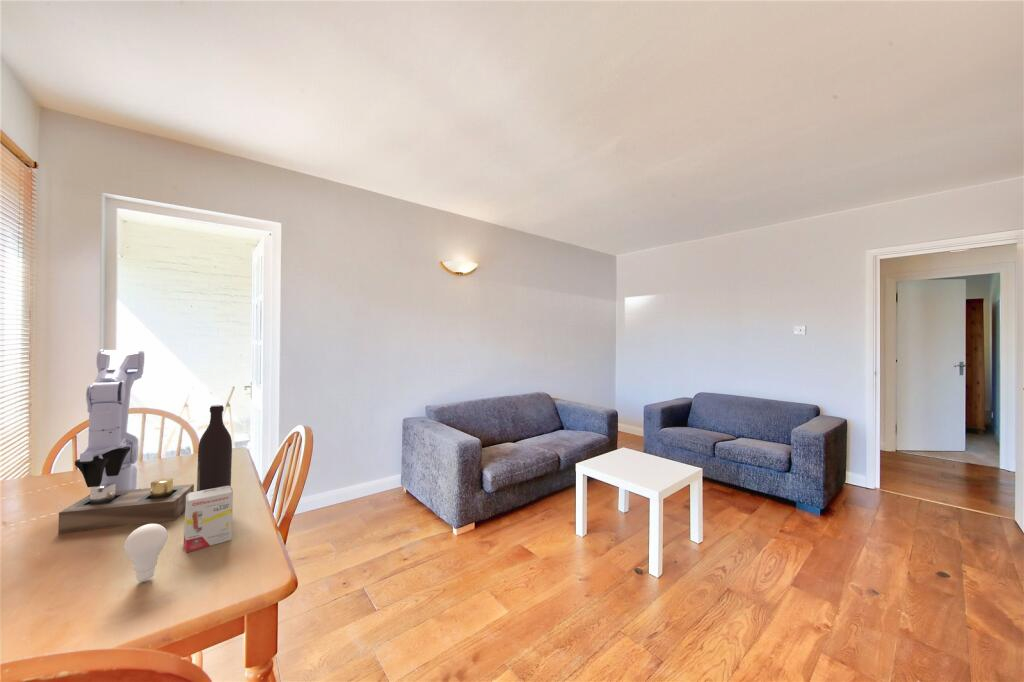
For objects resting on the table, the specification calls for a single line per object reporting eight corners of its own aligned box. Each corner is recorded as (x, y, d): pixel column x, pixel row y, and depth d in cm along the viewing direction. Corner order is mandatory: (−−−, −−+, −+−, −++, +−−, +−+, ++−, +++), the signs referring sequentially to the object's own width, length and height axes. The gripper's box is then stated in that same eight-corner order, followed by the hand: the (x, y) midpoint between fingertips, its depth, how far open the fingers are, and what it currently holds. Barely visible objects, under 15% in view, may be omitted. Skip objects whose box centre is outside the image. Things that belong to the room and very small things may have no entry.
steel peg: (96, 502, 99) (97, 484, 99) (118, 500, 100) (119, 482, 100) (85, 510, 95) (85, 490, 95) (108, 507, 96) (109, 488, 96)
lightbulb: (142, 571, 77) (144, 518, 77) (174, 571, 78) (176, 517, 77) (113, 591, 71) (115, 533, 71) (148, 590, 71) (150, 533, 71)
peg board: (91, 511, 101) (92, 492, 101) (193, 501, 109) (193, 484, 109) (58, 533, 90) (58, 512, 90) (173, 520, 98) (174, 501, 98)
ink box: (184, 553, 84) (186, 500, 84) (183, 544, 87) (185, 493, 87) (232, 540, 90) (233, 490, 90) (229, 532, 93) (230, 484, 93)
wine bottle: (218, 510, 104) (221, 402, 104) (236, 515, 102) (239, 404, 102) (189, 522, 97) (192, 406, 97) (207, 527, 95) (211, 409, 95)
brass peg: (155, 497, 103) (155, 479, 103) (175, 495, 105) (176, 477, 105) (146, 503, 99) (147, 485, 99) (167, 501, 101) (168, 483, 101)
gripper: (107, 434, 92) (106, 489, 92) (140, 421, 106) (139, 470, 106) (68, 436, 90) (66, 493, 90) (107, 422, 103) (105, 472, 103)
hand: (103, 480), depth 97 cm, fingers open, 7 cm apart
